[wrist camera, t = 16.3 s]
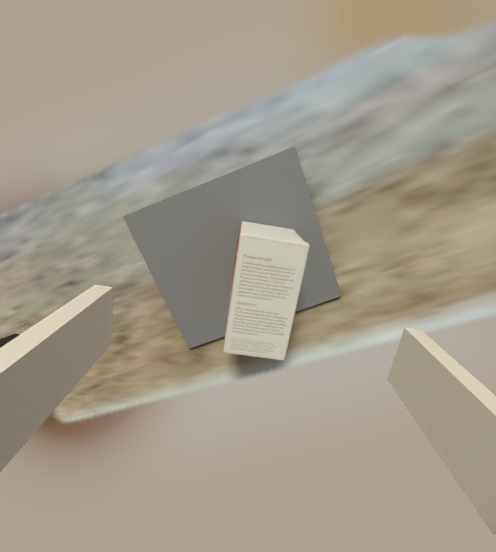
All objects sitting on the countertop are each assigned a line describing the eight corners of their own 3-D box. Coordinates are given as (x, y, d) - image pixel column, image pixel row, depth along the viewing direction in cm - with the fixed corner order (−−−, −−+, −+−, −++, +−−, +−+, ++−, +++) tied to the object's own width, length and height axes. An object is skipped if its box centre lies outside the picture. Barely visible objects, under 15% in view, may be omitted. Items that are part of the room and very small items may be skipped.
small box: (227, 315, 33) (240, 220, 30) (277, 322, 34) (295, 228, 31) (220, 354, 26) (237, 232, 23) (285, 363, 26) (311, 243, 23)
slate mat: (293, 147, 29) (294, 146, 28) (339, 294, 33) (341, 296, 33) (125, 216, 31) (123, 216, 30) (190, 346, 35) (189, 348, 35)
